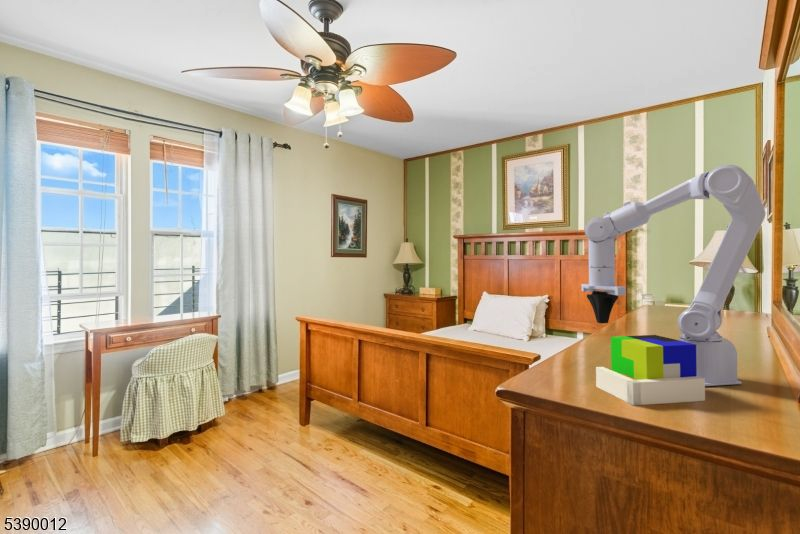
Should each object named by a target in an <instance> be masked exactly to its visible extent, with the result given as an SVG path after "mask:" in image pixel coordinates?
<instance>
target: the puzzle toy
mask: <svg viewBox="0 0 800 534" xmlns="http://www.w3.org/2000/svg"><path fill="white" fill-rule="evenodd" d="M610 366H611V367H610V370H612V371H614V372H617V373H619V374H622V375H624V376H626V377H629V378H631V379H634V380H643V379H660V378H678V377H695V376H697V367H696V344H692V343H688V342H683V341H679V339H676V338H675V339H674V338H672V337H671V338H670V337H665V336H661V335H657V334H648V335H647V334H645V335H642V334H641V335H626V336H625V335H619V336H618V335H617V336H611V337H610Z"/></svg>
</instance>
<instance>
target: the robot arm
mask: <svg viewBox="0 0 800 534" xmlns="http://www.w3.org/2000/svg"><path fill="white" fill-rule="evenodd" d="M710 195H711V196H712V197H714V198H715V199H716V200H718V201H719V202H720V203H721V204H723V206H724V209H726V211H727V212H728V213H729V215H730V216H731V220H730V222H729V224H728V227H727V228H726V231H725V233H724V235H723V237H722V239H721V241H720V244H719V246H718V248H717V251H716V252H715V254H714V257H713V259H712V261H711V264H710V266H709V267H708V269H707V272H706V274H705V276H704V279H703V281H702V283H701V285H700V288H699V289H698V292H697V293H696V294H695V296H694V298H693V300H692V301H691V303H690V305H689V307H688V308H687V309H686V310H684V311H683V312H682V313H680V314H679V316H678V319H677V326H678V328H679V330H680V332H681V333H679V335H678V336H679V339H678V340H679V341H683V342H688V343H692V344H696V367H697V376H698V377H701V378H704V379H705V387H711V386H712V387H715V386H730V385H742V381H740V380H739V379H738V351H737V349H736V347H735V344H734V343H733V342H732V341H731V340H729V339H728V338H724V337H723V336H722V335H721V334H719V333H720V332H718V330H719V329H720V328H721V326H722V321H723V319H722V310H723V308H724V306H725V302H726V300H727V298H728V295H729V293H730V291H731V289H732V287H733V284H734V283H735V281H736V279H737V277H738V274H739V272H740V270H741V269H742V266H743V264H744V262H745V261H746V258H747V256H748V254H749V252H750V249H751V247H752V245H753V243H754V241H755V239H756V237H757V234H759V233H758V232H759V231H760V229H761V227H762V224H763V222H764V221H765V218H766V214H767V213H766V210H765V207H764V204H763V200H762V199H761V197H760V193H759V191H758V188H757V186H756V184H755V182H754V180H753V178H752V177H751V176H750V175H749V174H748V173H747V172H746V171H745V169H743V168H742V167H740V166H738V165H734V164H724V165H720V166H717V167H714V168H713V169H712V170H711V171H705V172H702V173H699V174H698V175H695V176H694V177H692V178H689V179H688V180H685V181H684V182H682V183H680V184H678V185H676V186H674V187H672V188H670V189H668V190H666V191H664V192H662V193H660V194H658V195H655V197H653V198H651V199H649V200H647V201H645V202H641V201H637V200H636V201H632V202H631V201H628V200H627V201H626V202H623V203H622V204H623V206H622V207H619V208H617V209H615V210H613V211H611V212H605V213H603V217H601V216H594V217H593V218H592V219H590V220H589V221H588V222H587V223H586V224H585V227H584V235H585V237H587V239H588V283H581V284H580V285H581V289H580V290H581V292H587V293H588V292H589V293H590V294H589V293H588V294H586V298H587V300H588V301H589V303H590V305H591V307H592V309H593V313H594V317H595V319H596V322H597V324H608V323H609V319H610V316H611V313H612V310H613V307H614V305H615V303H616V302H617V301H618V299H619V296H627V292H626V291H627V290H626V288H627V286H620V285H616V263H615V262H616V260H615V259H616V256H615V253H616V252H615V238H617V236H621V235H624V234H626V233H628V232H630V231H631V230H634V229H637V228H639V227H640V226H641V227H642V226H644V225H646V224H647V223H648V222H649V220H650V218H651V216H652V215H655V214H657V213H660V212H662V211H665V210H667V209H670V208H673V207H675V206H677V205H680V204H682V203H684V202H687V201H689V200H710Z"/></svg>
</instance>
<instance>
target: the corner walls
mask: <svg viewBox="0 0 800 534" xmlns="http://www.w3.org/2000/svg"><path fill="white" fill-rule="evenodd" d="M595 383H596V384H595V387H596V388H599V389H600V390H602V391H604V392H606V393H608V394H610V395H612V396H614V397H615V398H617V399H620V400H622V401H624V402H625V403H627V404H630V405H632V406H642V405H643V406H645V405H646V406H647V405H657V404H658V405H659V404H660V405H661V404H675V403H677V404H678V403H690V402H691V403H692V402H693V403H694V402H705V401H706V386H705V379H704V378H701V377H698V376H695V377H678V378H660V379H643V380H634V379H631V378H629V377H626V376H624V375H622V374H619V373H617V372H614V371H612V370H611V368H610V369H609V368H607V367H605V366H596V367H595Z"/></svg>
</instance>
